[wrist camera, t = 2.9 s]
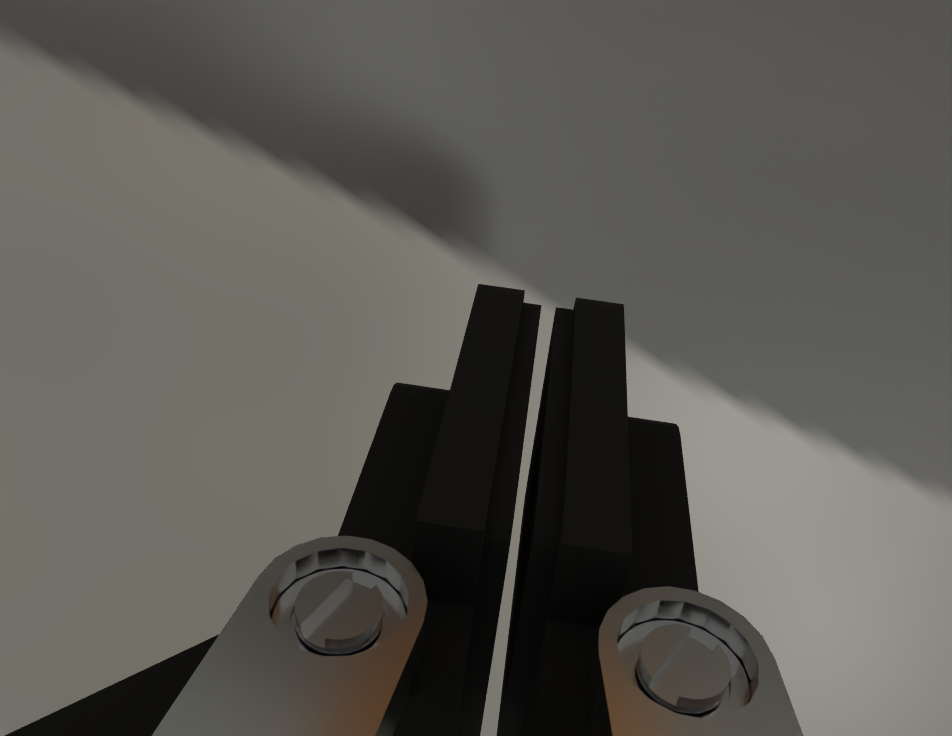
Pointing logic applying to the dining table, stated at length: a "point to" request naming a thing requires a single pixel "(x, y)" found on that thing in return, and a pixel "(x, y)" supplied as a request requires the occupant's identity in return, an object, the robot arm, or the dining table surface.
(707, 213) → the dining table surface
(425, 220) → the dining table surface
